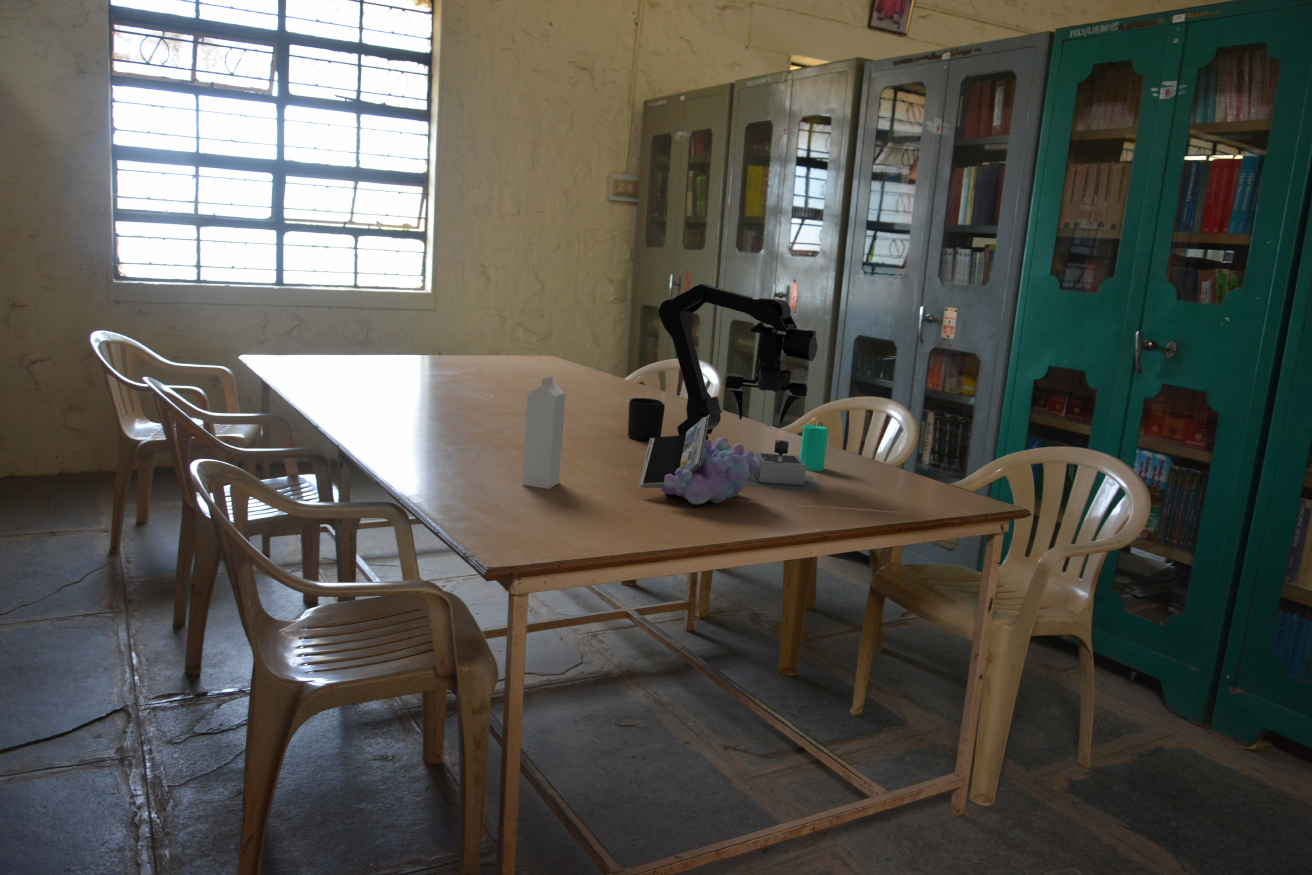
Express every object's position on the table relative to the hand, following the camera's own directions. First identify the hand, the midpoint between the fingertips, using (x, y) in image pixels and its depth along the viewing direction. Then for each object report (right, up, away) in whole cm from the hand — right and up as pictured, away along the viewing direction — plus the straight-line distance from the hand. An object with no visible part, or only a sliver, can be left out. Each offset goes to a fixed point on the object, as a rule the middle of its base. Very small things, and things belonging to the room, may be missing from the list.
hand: (760, 421), depth 218 cm
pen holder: (-27, -4, +31) cm, 42 cm away
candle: (+14, -12, +11) cm, 21 cm away
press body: (+2, -13, -5) cm, 14 cm away
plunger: (+3, -13, -5) cm, 14 cm away
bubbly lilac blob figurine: (-16, -16, -27) cm, 35 cm away
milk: (-48, -13, -26) cm, 56 cm away
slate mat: (+3, -14, -5) cm, 15 cm away
